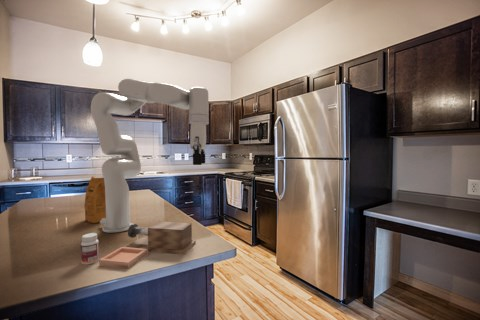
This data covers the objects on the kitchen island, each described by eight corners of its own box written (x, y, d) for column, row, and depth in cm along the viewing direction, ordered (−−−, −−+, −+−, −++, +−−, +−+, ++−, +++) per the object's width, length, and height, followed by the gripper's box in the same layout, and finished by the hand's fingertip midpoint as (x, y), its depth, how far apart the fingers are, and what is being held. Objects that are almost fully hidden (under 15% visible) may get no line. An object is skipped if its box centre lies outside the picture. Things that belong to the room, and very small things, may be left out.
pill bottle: (86, 258, 78) (85, 232, 77) (102, 257, 78) (101, 232, 78) (78, 265, 73) (77, 238, 72) (94, 264, 73) (93, 237, 73)
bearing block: (125, 249, 84) (125, 227, 84) (142, 239, 94) (142, 219, 94) (184, 254, 80) (183, 231, 79) (195, 243, 89) (195, 222, 89)
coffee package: (102, 215, 129) (101, 175, 128) (113, 219, 122) (112, 176, 121) (81, 220, 121) (80, 177, 120) (92, 224, 114) (90, 178, 113)
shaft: (128, 239, 87) (127, 226, 87) (136, 234, 91) (136, 222, 91) (160, 241, 84) (160, 228, 84) (167, 237, 89) (167, 224, 89)
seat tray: (99, 265, 72) (98, 259, 72) (121, 251, 82) (121, 246, 82) (128, 268, 70) (128, 262, 70) (148, 254, 80) (147, 248, 80)
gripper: (193, 122, 102) (193, 163, 103) (184, 117, 85) (185, 165, 85) (211, 122, 102) (211, 162, 103) (205, 117, 85) (206, 165, 85)
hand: (199, 164), depth 94 cm, fingers open, 9 cm apart
